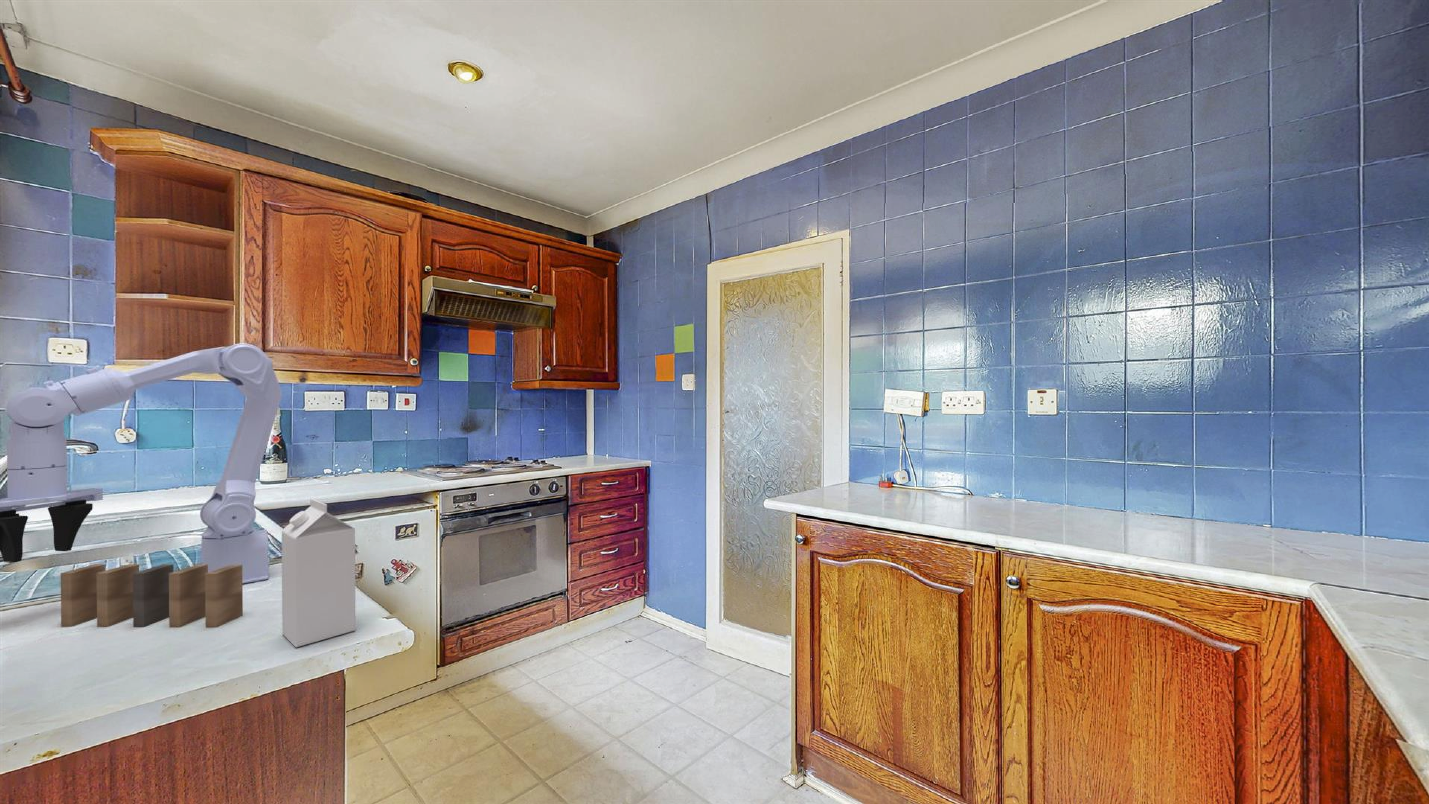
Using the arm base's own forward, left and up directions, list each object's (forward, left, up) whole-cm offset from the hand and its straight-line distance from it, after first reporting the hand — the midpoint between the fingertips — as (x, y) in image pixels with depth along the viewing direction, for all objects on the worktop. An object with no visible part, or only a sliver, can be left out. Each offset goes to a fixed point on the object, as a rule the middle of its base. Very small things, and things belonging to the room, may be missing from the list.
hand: (38, 555), depth 83 cm
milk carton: (-30, +36, -10) cm, 48 cm away
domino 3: (-17, +17, -10) cm, 26 cm away
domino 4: (-20, +20, -10) cm, 31 cm away
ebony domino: (-13, +13, -10) cm, 21 cm away
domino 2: (-9, +9, -10) cm, 16 cm away
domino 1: (-5, +5, -10) cm, 12 cm away
